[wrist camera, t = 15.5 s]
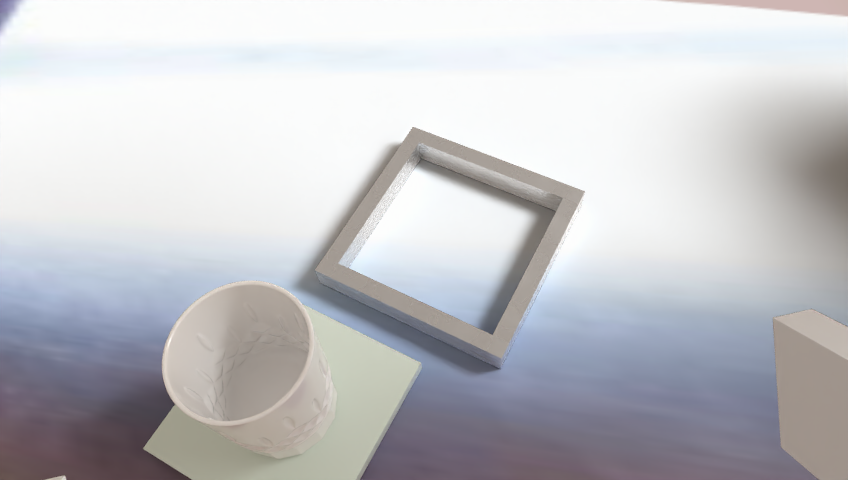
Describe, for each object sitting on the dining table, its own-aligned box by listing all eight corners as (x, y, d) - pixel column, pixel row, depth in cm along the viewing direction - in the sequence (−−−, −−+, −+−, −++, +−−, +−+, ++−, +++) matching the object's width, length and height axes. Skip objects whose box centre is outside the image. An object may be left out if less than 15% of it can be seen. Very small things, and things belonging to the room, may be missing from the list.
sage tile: (265, 290, 48) (261, 284, 47) (421, 367, 44) (421, 362, 43) (149, 452, 42) (142, 448, 41) (316, 557, 38) (313, 555, 38)
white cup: (340, 470, 40) (303, 426, 31) (214, 468, 40) (144, 424, 32) (352, 348, 44) (321, 279, 35) (237, 347, 44) (180, 280, 36)
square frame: (415, 142, 54) (413, 126, 52) (581, 206, 50) (584, 191, 48) (320, 283, 48) (314, 270, 46) (500, 369, 43) (501, 358, 42)
